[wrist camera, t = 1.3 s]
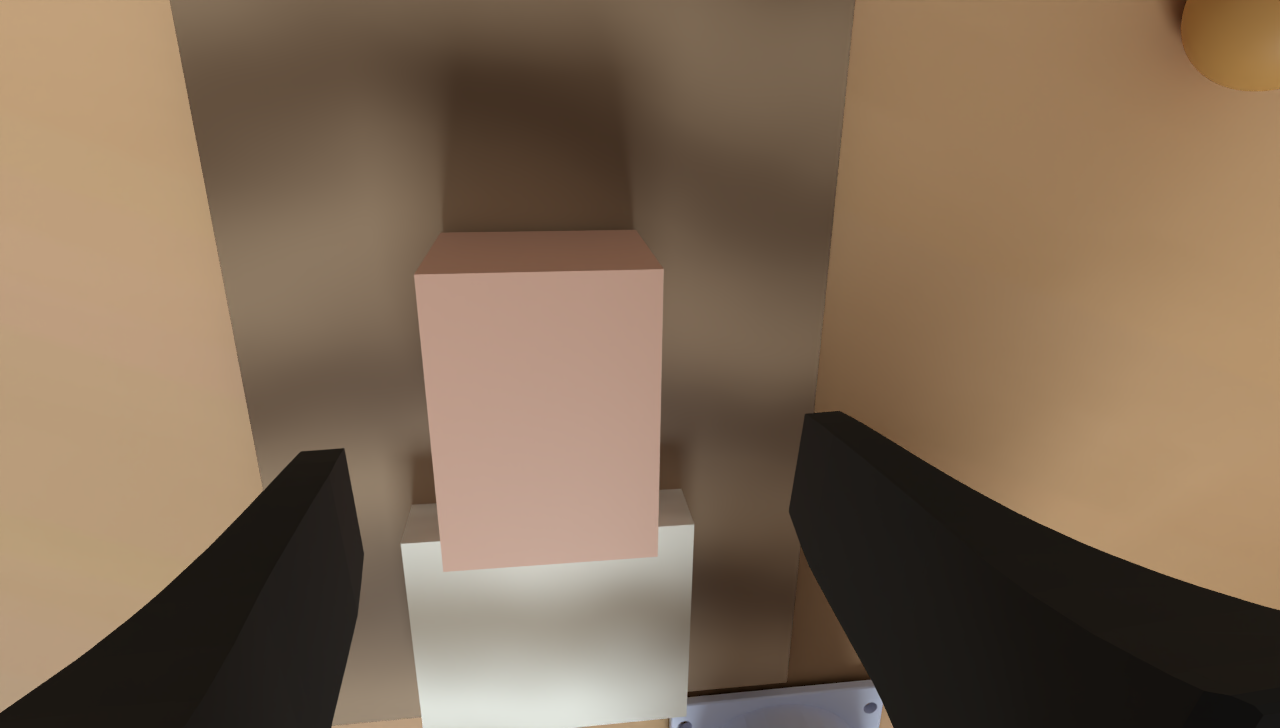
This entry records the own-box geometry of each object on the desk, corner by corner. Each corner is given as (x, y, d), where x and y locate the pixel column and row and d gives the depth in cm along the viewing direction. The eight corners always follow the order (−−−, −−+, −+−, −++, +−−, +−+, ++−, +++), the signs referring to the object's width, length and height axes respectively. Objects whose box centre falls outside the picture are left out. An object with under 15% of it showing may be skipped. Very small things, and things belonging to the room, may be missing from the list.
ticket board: (778, 661, 27) (806, 727, 24) (316, 704, 25) (289, 781, 22) (841, -13, 19) (892, -31, 17) (182, -33, 17) (114, -56, 14)
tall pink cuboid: (633, 466, 22) (657, 556, 18) (460, 476, 21) (443, 571, 17) (636, 229, 20) (663, 268, 15) (440, 232, 19) (414, 274, 15)
